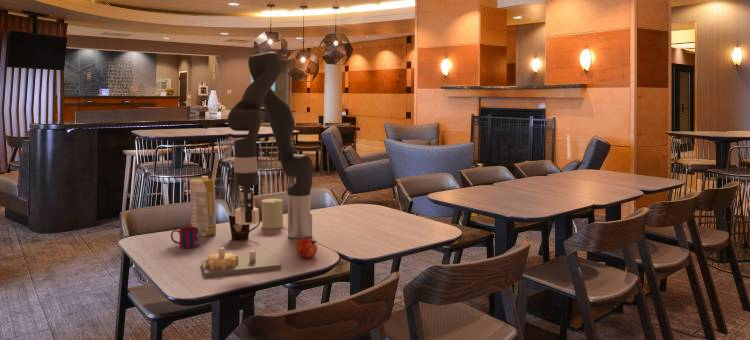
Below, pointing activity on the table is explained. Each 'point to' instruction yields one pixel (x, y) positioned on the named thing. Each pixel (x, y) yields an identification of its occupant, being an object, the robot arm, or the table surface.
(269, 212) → the can
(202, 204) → the juice carton
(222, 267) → the gear board
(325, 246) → the table surface
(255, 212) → the loose gear
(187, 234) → the cup
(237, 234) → the coffee mug
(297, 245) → the pomegranate
